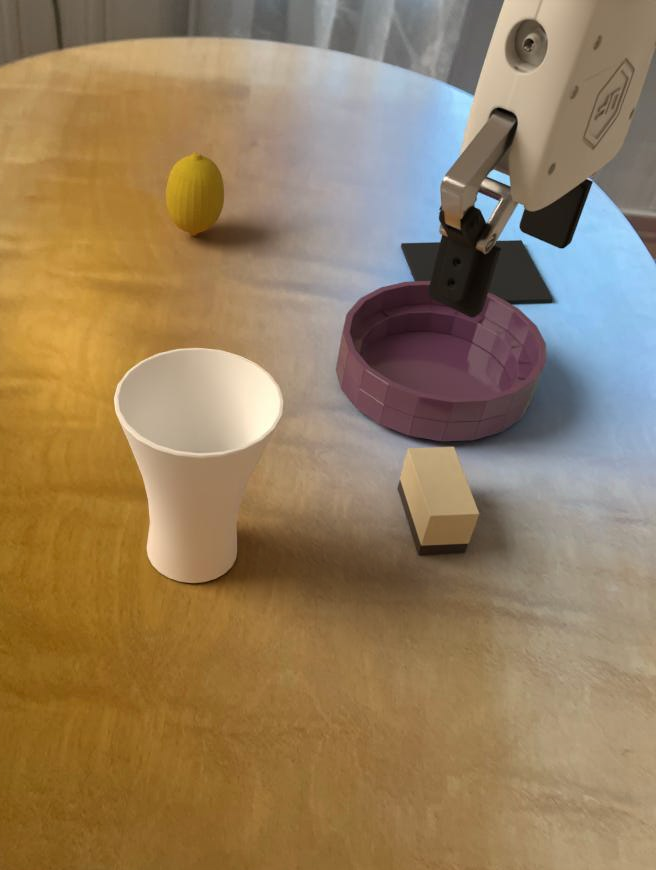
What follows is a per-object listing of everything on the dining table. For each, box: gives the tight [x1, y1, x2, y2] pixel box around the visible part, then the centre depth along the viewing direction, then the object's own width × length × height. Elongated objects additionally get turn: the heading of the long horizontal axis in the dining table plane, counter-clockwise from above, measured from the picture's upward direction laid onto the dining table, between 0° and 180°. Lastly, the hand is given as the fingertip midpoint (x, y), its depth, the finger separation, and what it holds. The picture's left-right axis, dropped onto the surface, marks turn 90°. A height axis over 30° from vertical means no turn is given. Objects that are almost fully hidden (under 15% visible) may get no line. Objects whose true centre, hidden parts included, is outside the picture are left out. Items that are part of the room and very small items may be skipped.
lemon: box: [165, 151, 225, 237], centre depth 95 cm, size 6×6×8 cm
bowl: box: [335, 280, 547, 442], centre depth 83 cm, size 16×16×4 cm
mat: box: [400, 239, 554, 305], centre depth 95 cm, size 12×10×1 cm
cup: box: [113, 347, 285, 584], centre depth 67 cm, size 10×10×14 cm
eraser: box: [397, 446, 480, 556], centre depth 73 cm, size 4×7×4 cm, turn 5°
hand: (500, 270), depth 58 cm, fingers open, 9 cm apart
